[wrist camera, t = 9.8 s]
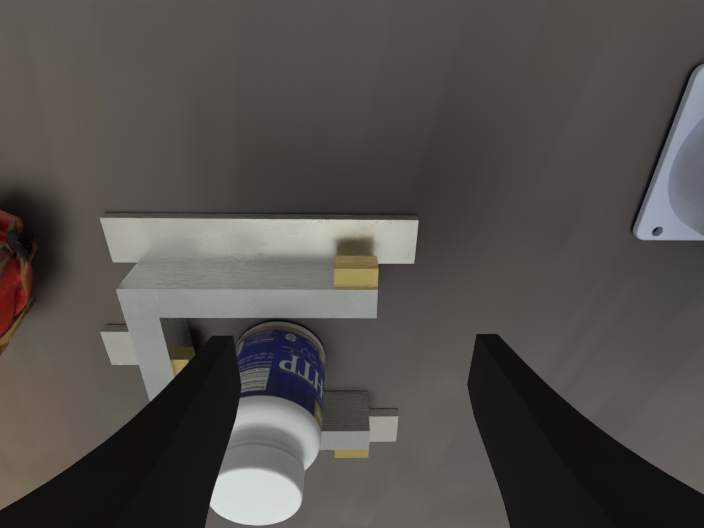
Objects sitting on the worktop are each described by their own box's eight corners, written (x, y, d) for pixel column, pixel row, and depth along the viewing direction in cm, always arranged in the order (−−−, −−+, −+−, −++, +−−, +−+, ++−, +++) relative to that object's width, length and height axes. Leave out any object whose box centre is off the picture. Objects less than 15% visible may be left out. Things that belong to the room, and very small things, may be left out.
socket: (416, 215, 21) (426, 243, 19) (394, 433, 29) (400, 474, 27) (67, 212, 21) (29, 241, 18) (142, 434, 29) (122, 476, 26)
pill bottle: (342, 364, 26) (342, 511, 19) (271, 397, 28) (244, 547, 20) (291, 303, 24) (267, 442, 16) (216, 342, 25) (161, 488, 18)
